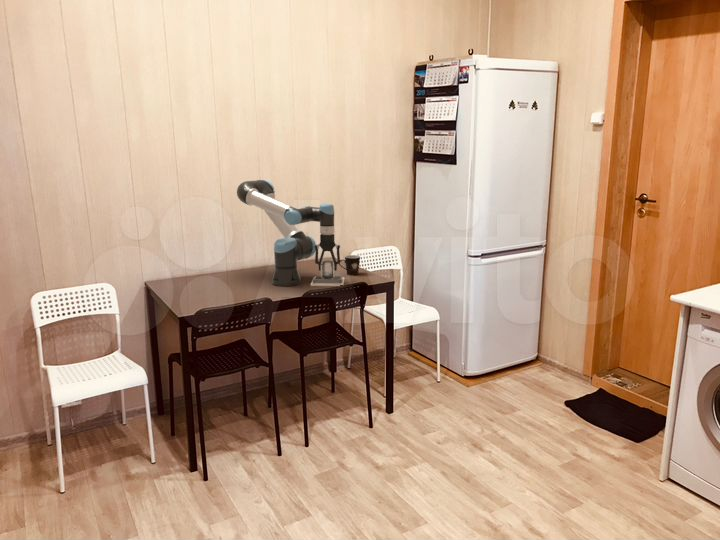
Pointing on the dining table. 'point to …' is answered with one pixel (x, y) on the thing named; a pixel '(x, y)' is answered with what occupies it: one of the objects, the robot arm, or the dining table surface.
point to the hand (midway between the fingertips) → (327, 276)
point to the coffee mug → (352, 264)
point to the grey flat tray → (327, 281)
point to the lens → (327, 269)
